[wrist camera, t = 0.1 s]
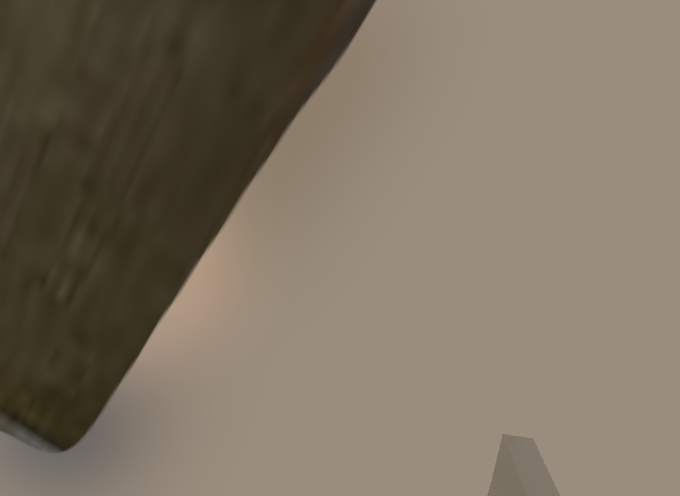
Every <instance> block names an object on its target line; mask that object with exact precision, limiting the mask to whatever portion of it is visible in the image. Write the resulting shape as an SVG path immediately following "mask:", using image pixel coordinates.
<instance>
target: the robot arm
mask: <svg viewBox="0 0 680 496" xmlns="http://www.w3.org/2000/svg"><path fill="white" fill-rule="evenodd" d="M488 496H560V495H559V493H558V491H557V489H556V487H555V485H554V482H553V481H552V478H551V476H550V474H549V472H548V470H547V468H546V465H545V464H544V461H543V459H542V457H541V455H540V453H539V451H538V449H537V446H536V444H535V442H534V440H533V439H530V438H524V437H517V436H510V435H504V434H503V436H502V440H501V445H500V449H499V453H498V457H497V461H496V465H495V469H494V473H493V477H492V481H491V485H490V489H489V493H488Z"/></svg>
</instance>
